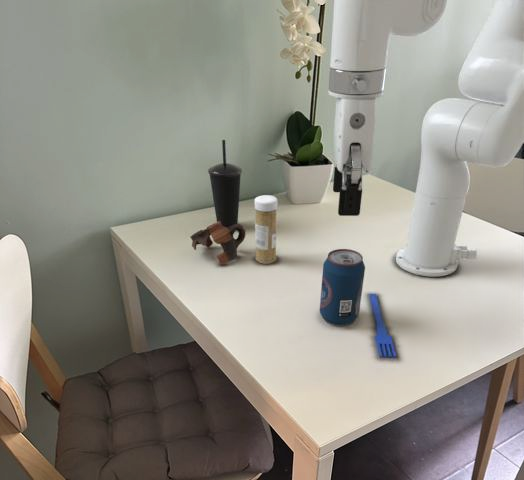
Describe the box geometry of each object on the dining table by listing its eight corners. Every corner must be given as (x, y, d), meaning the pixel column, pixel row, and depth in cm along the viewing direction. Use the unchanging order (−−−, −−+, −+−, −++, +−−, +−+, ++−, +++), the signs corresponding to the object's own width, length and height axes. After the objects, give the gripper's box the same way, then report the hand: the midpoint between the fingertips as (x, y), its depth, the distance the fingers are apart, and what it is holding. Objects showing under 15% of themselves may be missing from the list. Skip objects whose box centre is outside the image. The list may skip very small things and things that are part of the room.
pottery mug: (210, 272, 104) (192, 236, 102) (199, 272, 113) (182, 239, 111) (259, 246, 107) (241, 210, 105) (244, 248, 116) (228, 215, 114)
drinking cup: (225, 218, 127) (221, 133, 115) (249, 225, 123) (248, 139, 111) (205, 228, 122) (198, 141, 110) (229, 236, 118) (226, 146, 106)
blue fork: (365, 295, 96) (365, 293, 96) (379, 295, 96) (379, 293, 96) (379, 357, 81) (380, 355, 81) (396, 357, 81) (396, 355, 81)
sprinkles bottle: (280, 261, 108) (282, 199, 100) (262, 266, 106) (262, 204, 98) (268, 253, 111) (269, 192, 103) (251, 258, 109) (250, 197, 101)
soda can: (315, 308, 93) (320, 248, 85) (352, 306, 93) (360, 246, 86) (323, 329, 87) (328, 267, 80) (362, 327, 88) (371, 265, 80)
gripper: (394, 95, 63) (377, 225, 73) (374, 71, 76) (362, 183, 87) (334, 95, 63) (325, 225, 73) (325, 71, 77) (318, 183, 87)
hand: (345, 202), depth 80 cm, fingers open, 9 cm apart
